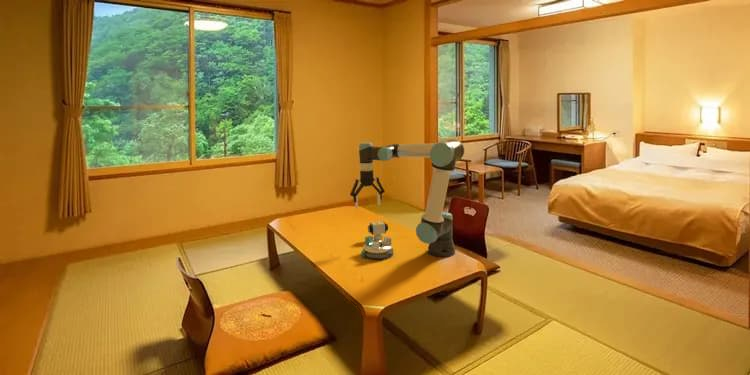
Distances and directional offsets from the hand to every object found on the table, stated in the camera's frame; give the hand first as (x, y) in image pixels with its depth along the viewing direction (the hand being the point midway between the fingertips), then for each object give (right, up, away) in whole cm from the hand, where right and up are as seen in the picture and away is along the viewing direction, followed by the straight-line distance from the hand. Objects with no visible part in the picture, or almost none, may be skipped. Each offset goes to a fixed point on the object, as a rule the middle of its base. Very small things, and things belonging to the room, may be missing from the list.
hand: (368, 206), depth 243 cm
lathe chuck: (+6, -23, -9) cm, 26 cm away
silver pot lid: (+6, -27, -8) cm, 28 cm away
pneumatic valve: (+6, -22, +16) cm, 27 cm away
